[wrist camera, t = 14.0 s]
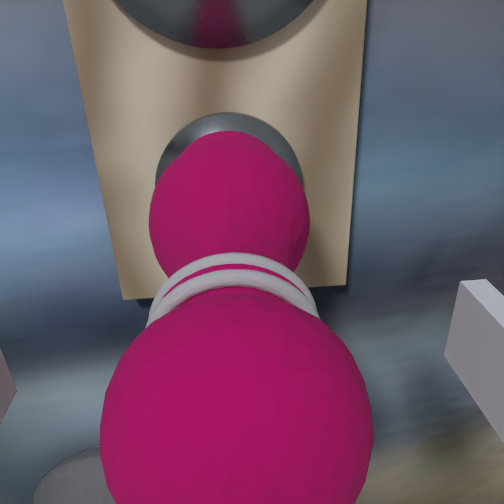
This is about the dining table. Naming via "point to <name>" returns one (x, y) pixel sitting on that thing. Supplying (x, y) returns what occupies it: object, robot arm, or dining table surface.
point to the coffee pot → (75, 481)
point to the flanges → (215, 19)
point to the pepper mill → (234, 349)
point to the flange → (228, 123)
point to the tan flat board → (215, 101)
